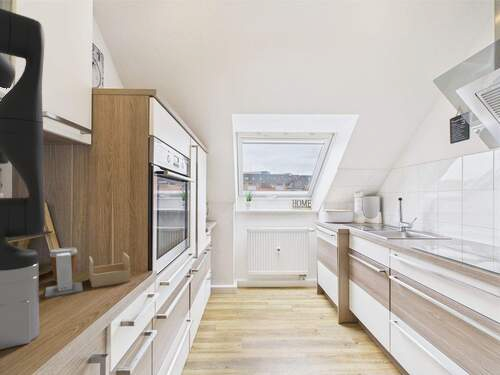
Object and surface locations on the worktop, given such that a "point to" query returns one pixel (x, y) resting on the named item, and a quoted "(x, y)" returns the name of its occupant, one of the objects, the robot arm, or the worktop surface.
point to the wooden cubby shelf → (109, 273)
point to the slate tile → (55, 292)
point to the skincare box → (64, 271)
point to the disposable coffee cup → (71, 250)
